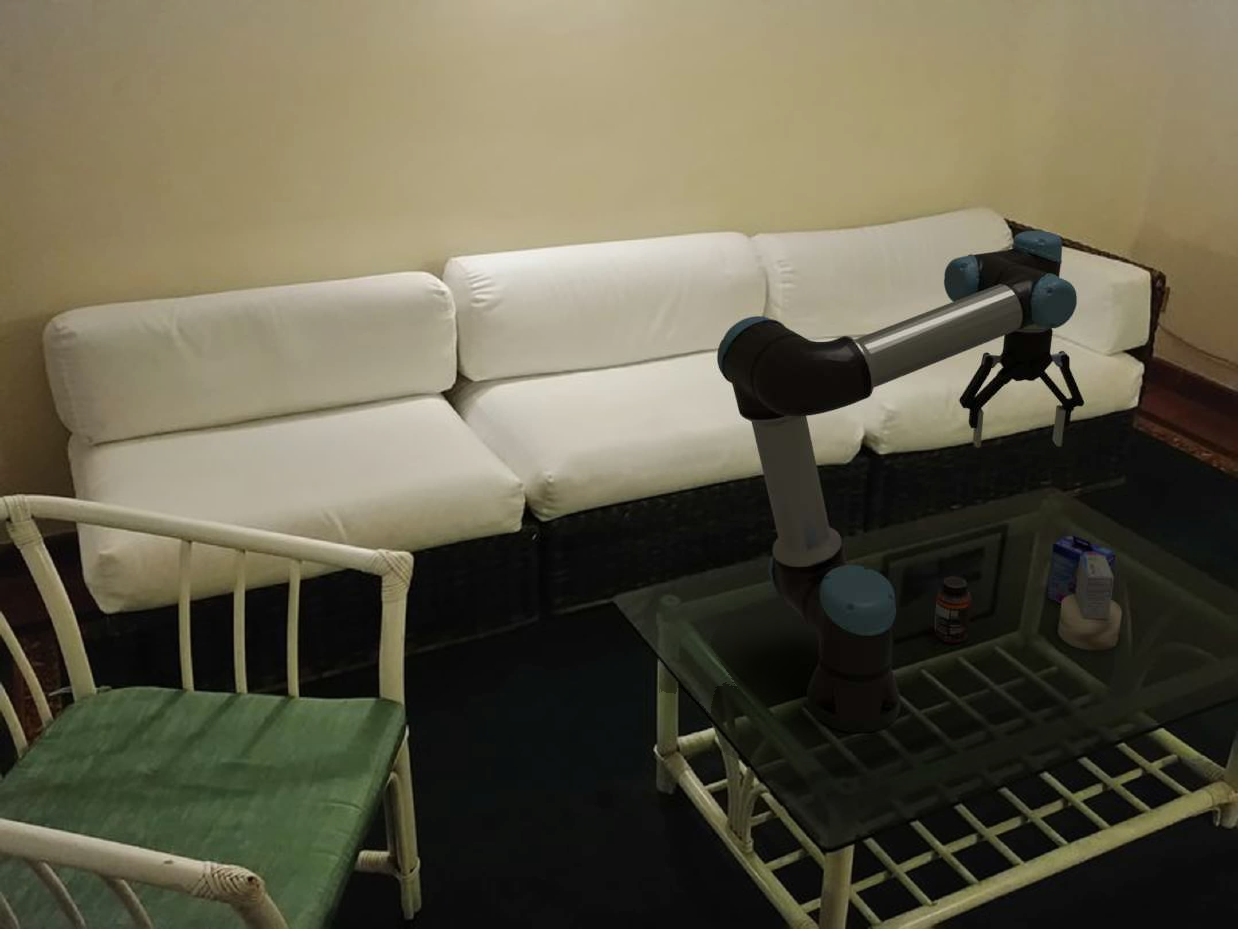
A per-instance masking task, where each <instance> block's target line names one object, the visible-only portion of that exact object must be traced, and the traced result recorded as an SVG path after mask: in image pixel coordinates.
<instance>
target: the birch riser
mask: <svg viewBox="0 0 1238 929" xmlns="http://www.w3.org/2000/svg"><path fill="white" fill-rule="evenodd" d="M1060 604H1061V603H1060ZM1059 611H1060V614H1059V620H1058V626H1057V627H1058V628H1057V633H1058V634H1057V635H1058V636H1059V637H1060V639H1061V640H1062V641H1064V642H1065V643H1066V644H1067V645H1070V646H1072V647H1073V648H1077V649H1081V650H1083V651H1084V650H1086V651H1091V652H1092V651H1093V652H1096V651H1097V652H1099V651H1106V650H1110V649H1112V648H1113V647H1115V646H1116V645H1117V643H1118V640H1119V633H1120V627H1121V621H1122V615H1123V611H1122V608H1121V606H1120V605H1119V604H1118V603H1117V602H1115V601H1114V600H1113V599H1111V604H1110V612H1109V619H1088V618H1083V616H1082V613H1081V610H1080V608H1079V605H1078V602H1077V599H1076V596H1075V594H1072V595H1069V596H1067V597H1065V598H1064V599H1063V600H1062V604H1061V605H1060V610H1059Z"/></svg>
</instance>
